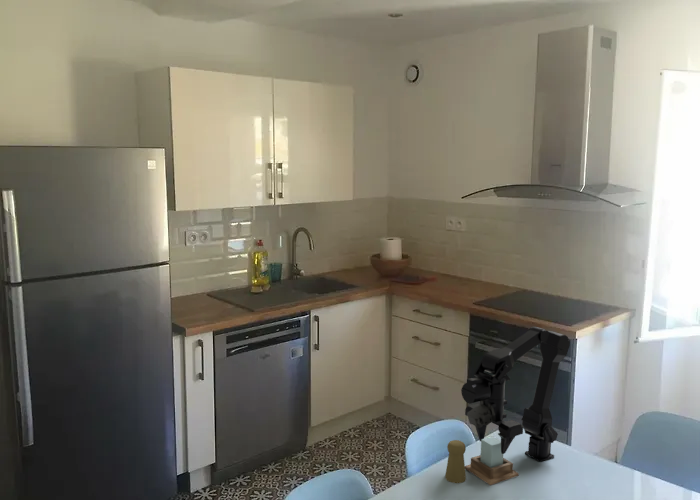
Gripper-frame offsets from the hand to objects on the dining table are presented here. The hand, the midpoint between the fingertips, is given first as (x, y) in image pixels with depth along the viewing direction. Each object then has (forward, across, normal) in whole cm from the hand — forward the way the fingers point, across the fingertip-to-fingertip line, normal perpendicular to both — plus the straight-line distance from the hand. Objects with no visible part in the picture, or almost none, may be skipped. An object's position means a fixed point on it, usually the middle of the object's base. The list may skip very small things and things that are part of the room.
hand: (492, 447), depth 179 cm
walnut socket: (+8, 0, 0) cm, 8 cm away
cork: (+8, -2, -11) cm, 14 cm away
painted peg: (+7, 0, 0) cm, 7 cm away
